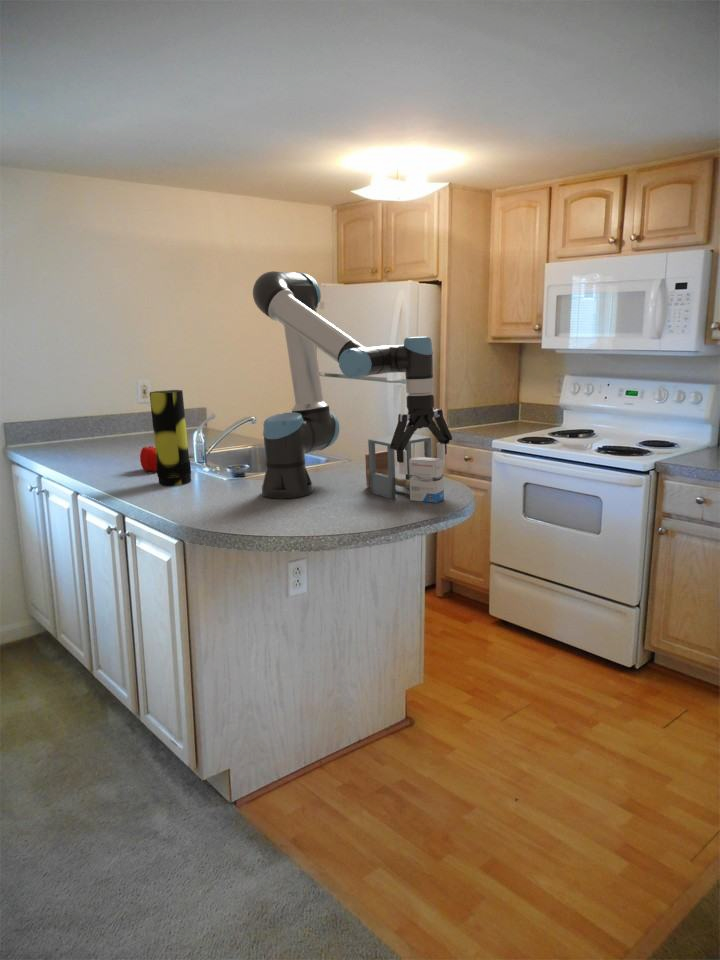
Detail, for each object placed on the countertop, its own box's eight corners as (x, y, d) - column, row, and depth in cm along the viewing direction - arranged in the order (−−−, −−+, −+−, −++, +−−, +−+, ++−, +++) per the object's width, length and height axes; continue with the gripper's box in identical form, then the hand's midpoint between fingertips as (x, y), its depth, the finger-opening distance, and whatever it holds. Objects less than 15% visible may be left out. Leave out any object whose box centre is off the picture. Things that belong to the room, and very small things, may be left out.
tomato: (171, 466, 261) (168, 442, 259) (173, 472, 249) (170, 447, 247) (141, 469, 257) (138, 444, 255) (142, 475, 246) (139, 449, 244)
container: (195, 478, 237) (186, 389, 231) (188, 485, 227) (179, 392, 220) (163, 479, 237) (153, 390, 231) (154, 487, 227) (144, 394, 220)
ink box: (444, 499, 196) (444, 457, 194) (436, 503, 192) (435, 461, 190) (418, 496, 201) (416, 455, 198) (409, 500, 197) (408, 458, 194)
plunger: (366, 486, 214) (365, 454, 212) (390, 481, 219) (389, 450, 217) (405, 498, 198) (404, 463, 196) (430, 492, 203) (429, 458, 201)
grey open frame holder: (370, 492, 208) (368, 439, 205) (408, 484, 216) (407, 433, 212) (392, 498, 199) (390, 443, 196) (431, 490, 207) (430, 437, 203)
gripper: (445, 389, 202) (447, 461, 207) (374, 397, 189) (378, 475, 194) (463, 390, 196) (465, 464, 201) (391, 399, 183) (395, 479, 188)
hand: (422, 470), depth 197 cm, fingers open, 13 cm apart
